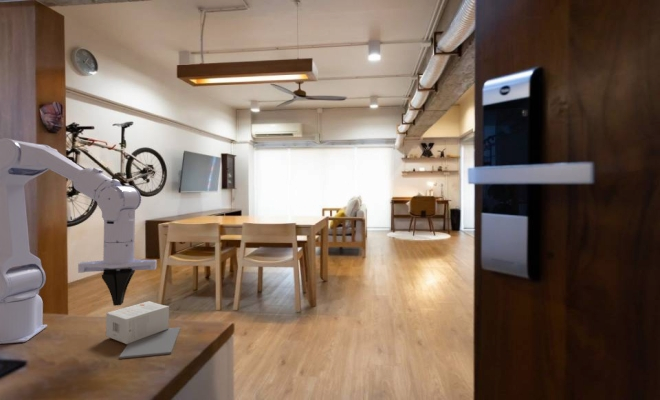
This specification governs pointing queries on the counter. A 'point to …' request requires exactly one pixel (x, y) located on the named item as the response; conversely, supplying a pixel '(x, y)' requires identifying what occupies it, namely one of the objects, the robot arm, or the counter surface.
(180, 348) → the counter surface
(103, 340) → the counter surface
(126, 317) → the small box
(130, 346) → the gray mat
